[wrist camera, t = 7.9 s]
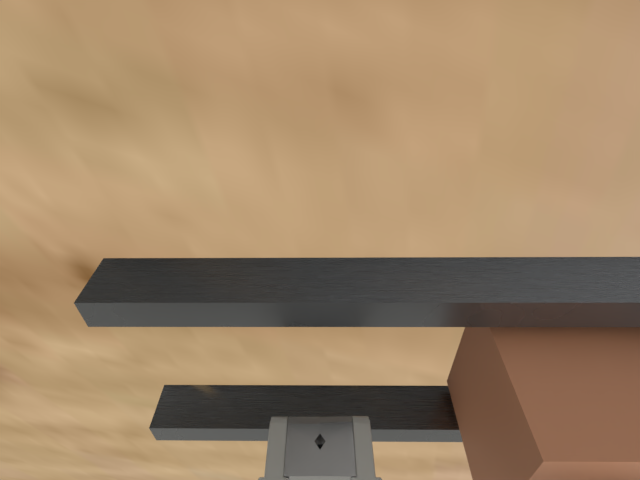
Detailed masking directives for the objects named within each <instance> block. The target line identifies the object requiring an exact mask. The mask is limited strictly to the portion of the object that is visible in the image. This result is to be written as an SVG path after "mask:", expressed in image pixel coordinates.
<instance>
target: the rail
mask: <svg viewBox="0 0 640 480" xmlns="http://www.w3.org/2000/svg"><path fill="white" fill-rule="evenodd" d="M74 304H75V306H76V308H77V309H78V311H79V313H80V314H81V316H82V318H83V319H84V321H85V323H86V324H87V326H88V327H640V257H366V258H103V260H102V261H101V263H100V264H99V266H98V267H97V269H96V270H95V272H94V273H93V275H92V276H91V278H90V279H89V281H88V282H87V284H86V285H85V287H84V288H83V290H82V291H81V293H80V294H79V296H78V297H77V299H76V300H75V302H74ZM284 416H288V417H289V416H296V417H341V416H368V417H369V420H370V426H371V435H372V442H463V441H462V437H461V433H460V430H459V426H458V422H457V418H456V414H455V411H454V407H453V403H452V399H451V395H450V392H449V388H448V386H377V385H164V387H163V390H162V393H161V396H160V398H159V401H158V404H157V407H156V410H155V413H154V415H153V418H152V421H151V424H150V427H149V429H150V431H151V432H152V434H153V436H154V437H155V439H156V440H183V441H268V435H269V425H270V421H271V417H284Z"/></svg>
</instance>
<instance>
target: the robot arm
mask: <svg viewBox="0 0 640 480" xmlns="http://www.w3.org/2000/svg"><path fill="white" fill-rule="evenodd" d="M258 480H382V479H381V477H376V474H375V465H374V455H373V445H372V435H371V426H370V420H369V417H368V416H341V417H296V416H289V417H288V416H284V417H271V421H270V425H269V435H268V445H267V455H266V464H265V474H264V477H259V479H258Z"/></svg>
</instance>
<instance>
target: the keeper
mask: <svg viewBox="0 0 640 480" xmlns="http://www.w3.org/2000/svg"><path fill="white" fill-rule="evenodd" d="M447 384H448V388H449V392H450V395H451V399H452V403H453V407H454V411H455V414H456V418H457V422H458V426H459V430H460V433H461V437H462V441H463V445H464V449H465V452H466V456H467V460H468V464H469V468H470V471H471V475H472V479H473V480H640V327H465V329H464V332H463V335H462V338H461V341H460V344H459V347H458V350H457V352H456V355H455V358H454V361H453V364H452V367H451V370H450V373H449V376H448V379H447Z"/></svg>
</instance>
